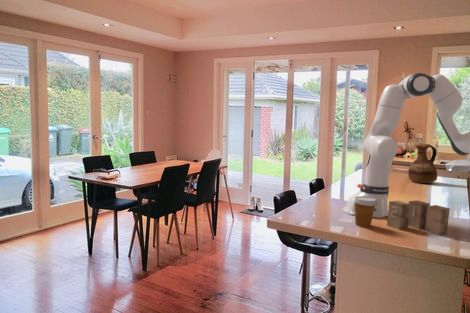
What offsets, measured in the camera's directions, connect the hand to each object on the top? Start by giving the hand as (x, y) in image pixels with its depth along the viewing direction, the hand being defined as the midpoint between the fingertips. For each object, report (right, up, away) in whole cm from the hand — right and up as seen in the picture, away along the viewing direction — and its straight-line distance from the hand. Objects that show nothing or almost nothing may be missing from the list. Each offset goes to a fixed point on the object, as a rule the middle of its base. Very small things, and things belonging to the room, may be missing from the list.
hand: (459, 172), depth 167 cm
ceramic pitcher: (+44, -13, +122) cm, 130 cm away
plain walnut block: (-15, -25, -7) cm, 30 cm away
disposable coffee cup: (-44, -24, -2) cm, 50 cm away
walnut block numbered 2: (-29, -24, -2) cm, 37 cm away
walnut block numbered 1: (-19, -24, 0) cm, 31 cm away
